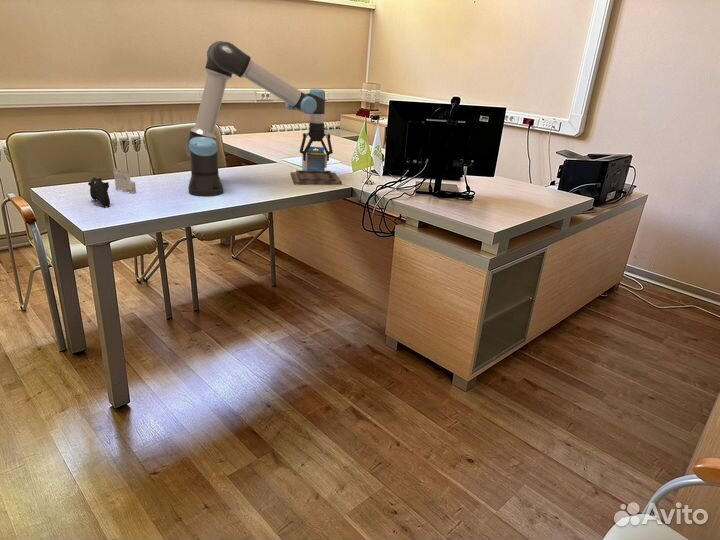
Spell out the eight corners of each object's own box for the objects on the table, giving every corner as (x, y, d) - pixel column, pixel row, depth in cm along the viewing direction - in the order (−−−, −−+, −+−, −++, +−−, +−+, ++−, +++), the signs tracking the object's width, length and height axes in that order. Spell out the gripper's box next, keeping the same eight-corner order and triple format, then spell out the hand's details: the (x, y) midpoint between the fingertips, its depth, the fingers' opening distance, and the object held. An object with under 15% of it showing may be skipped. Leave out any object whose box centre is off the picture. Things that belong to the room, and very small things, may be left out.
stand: (294, 184, 251) (294, 179, 250) (290, 174, 269) (290, 169, 268) (341, 184, 256) (341, 179, 255) (334, 175, 275) (335, 170, 274)
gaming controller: (86, 200, 207) (82, 176, 203) (101, 198, 211) (98, 174, 207) (98, 208, 198) (95, 183, 194) (114, 206, 202) (111, 181, 198)
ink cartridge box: (120, 188, 226) (117, 166, 222) (136, 193, 221) (134, 170, 217) (115, 189, 224) (112, 167, 220) (131, 194, 219) (129, 171, 215)
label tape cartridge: (325, 170, 262) (325, 146, 257) (323, 171, 259) (324, 147, 254) (308, 168, 263) (308, 144, 258) (306, 170, 259) (307, 146, 254)
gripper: (295, 122, 246) (295, 168, 254) (340, 124, 250) (338, 169, 259) (293, 120, 252) (293, 165, 261) (337, 121, 257) (335, 165, 266)
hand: (315, 167), depth 260 cm, fingers closed on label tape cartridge, 9 cm apart
